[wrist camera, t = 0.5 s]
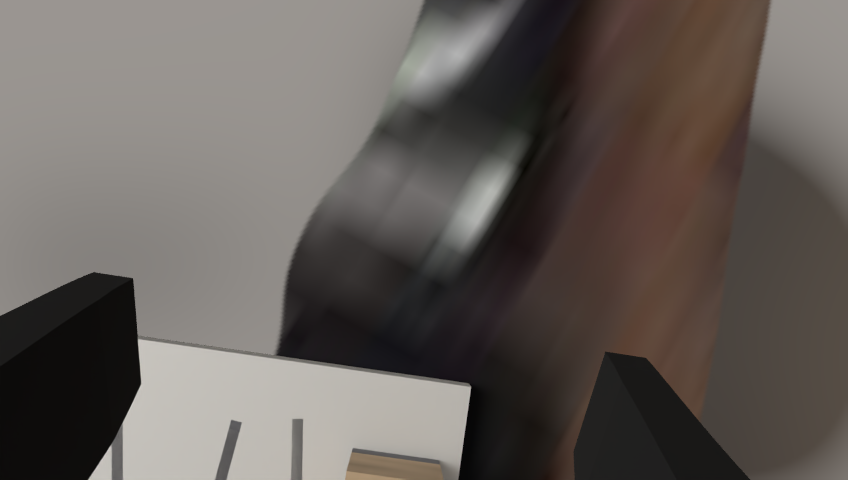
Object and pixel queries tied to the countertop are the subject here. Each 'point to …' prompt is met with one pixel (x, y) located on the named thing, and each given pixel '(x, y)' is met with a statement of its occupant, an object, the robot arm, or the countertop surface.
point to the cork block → (391, 467)
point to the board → (276, 417)
